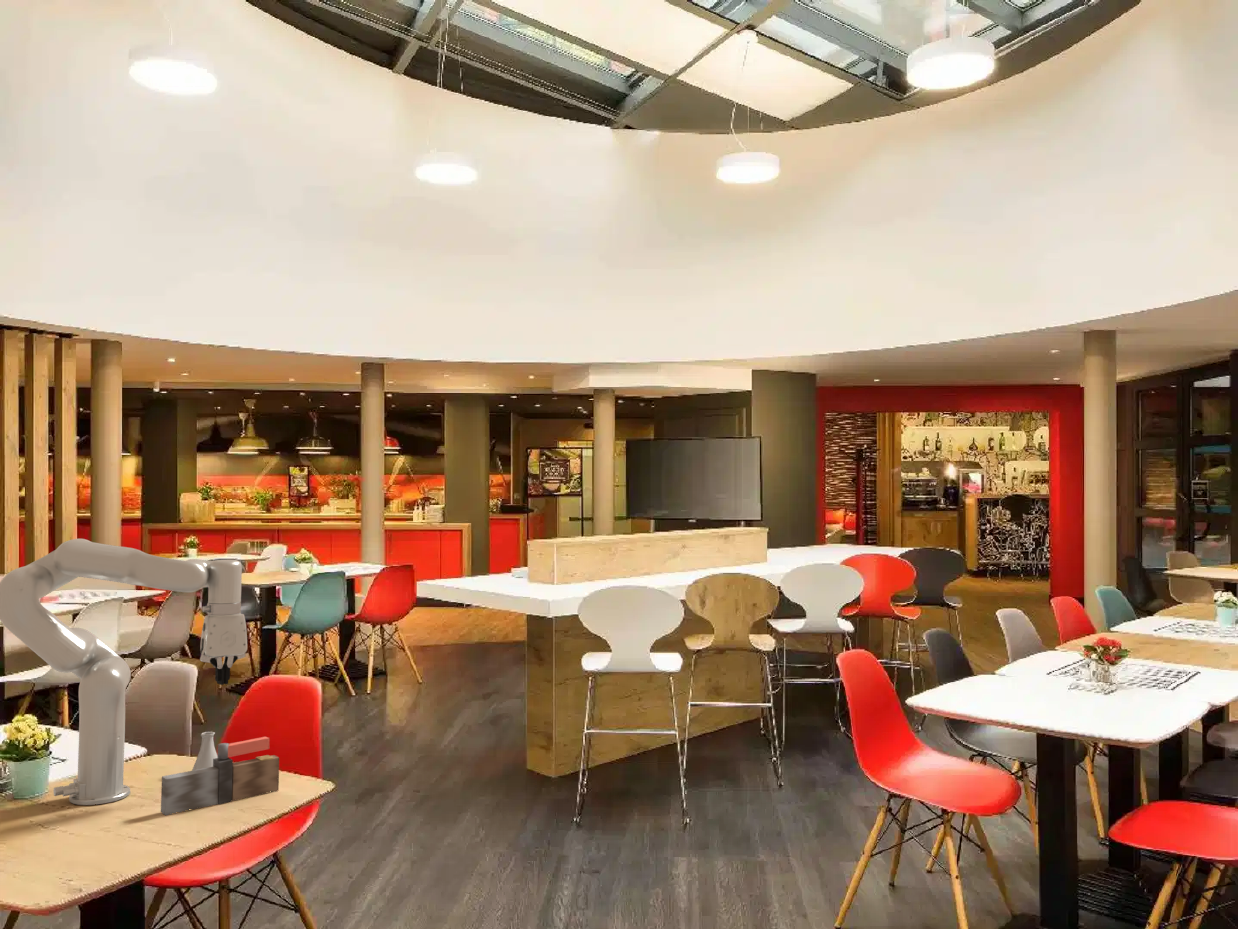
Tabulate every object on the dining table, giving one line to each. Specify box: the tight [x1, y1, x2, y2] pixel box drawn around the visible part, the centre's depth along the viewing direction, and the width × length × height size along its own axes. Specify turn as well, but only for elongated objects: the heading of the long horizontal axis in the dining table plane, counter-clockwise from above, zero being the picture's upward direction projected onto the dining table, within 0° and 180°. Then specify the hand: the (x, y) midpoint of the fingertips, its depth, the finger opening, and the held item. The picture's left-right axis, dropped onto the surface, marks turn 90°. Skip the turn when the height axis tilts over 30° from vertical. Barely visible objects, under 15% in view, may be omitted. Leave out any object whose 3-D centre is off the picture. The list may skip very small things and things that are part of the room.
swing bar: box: [217, 736, 271, 760], centre depth 219 cm, size 12×2×3 cm, turn 139°
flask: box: [191, 731, 218, 771], centre depth 238 cm, size 7×7×10 cm
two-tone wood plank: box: [160, 754, 280, 817], centre depth 215 cm, size 26×4×10 cm, turn 134°
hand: (222, 683), depth 227 cm, fingers closed
